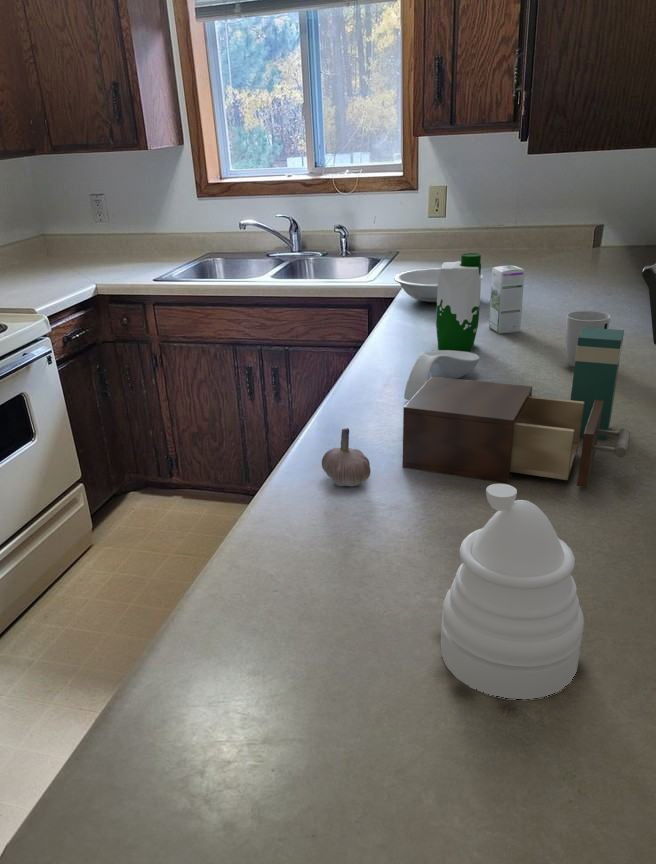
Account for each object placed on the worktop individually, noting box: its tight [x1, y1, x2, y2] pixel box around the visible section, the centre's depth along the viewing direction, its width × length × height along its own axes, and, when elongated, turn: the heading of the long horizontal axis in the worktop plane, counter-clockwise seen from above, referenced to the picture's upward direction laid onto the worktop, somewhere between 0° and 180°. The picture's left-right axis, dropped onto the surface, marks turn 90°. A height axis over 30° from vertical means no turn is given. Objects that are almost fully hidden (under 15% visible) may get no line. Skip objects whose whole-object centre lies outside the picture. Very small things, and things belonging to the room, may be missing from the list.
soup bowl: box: [393, 267, 484, 303], centre depth 204 cm, size 24×24×7 cm
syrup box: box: [488, 265, 526, 334], centre depth 172 cm, size 6×6×14 cm
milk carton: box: [435, 252, 482, 353], centre depth 160 cm, size 9×9×20 cm
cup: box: [565, 310, 611, 368], centre depth 147 cm, size 8×8×10 cm
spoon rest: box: [403, 349, 480, 401], centre depth 142 cm, size 24×12×7 cm, turn 151°
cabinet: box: [401, 376, 533, 484], centre depth 111 cm, size 16×15×10 cm
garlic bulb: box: [321, 427, 371, 487], centre depth 106 cm, size 8×7×8 cm
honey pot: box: [440, 483, 585, 701], centre depth 68 cm, size 13×13×18 cm
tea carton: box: [570, 327, 625, 441], centre depth 116 cm, size 6×6×16 cm
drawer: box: [510, 395, 631, 488], centre depth 106 cm, size 19×13×8 cm
